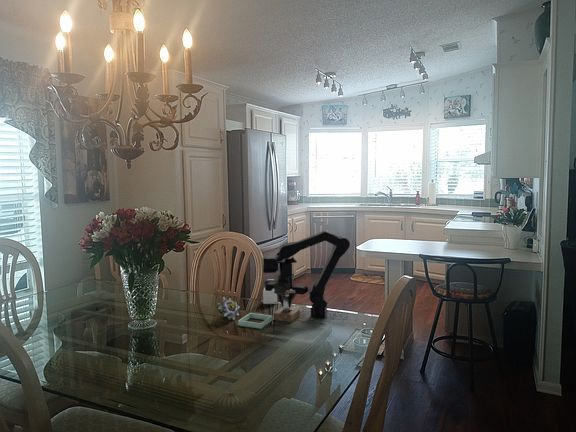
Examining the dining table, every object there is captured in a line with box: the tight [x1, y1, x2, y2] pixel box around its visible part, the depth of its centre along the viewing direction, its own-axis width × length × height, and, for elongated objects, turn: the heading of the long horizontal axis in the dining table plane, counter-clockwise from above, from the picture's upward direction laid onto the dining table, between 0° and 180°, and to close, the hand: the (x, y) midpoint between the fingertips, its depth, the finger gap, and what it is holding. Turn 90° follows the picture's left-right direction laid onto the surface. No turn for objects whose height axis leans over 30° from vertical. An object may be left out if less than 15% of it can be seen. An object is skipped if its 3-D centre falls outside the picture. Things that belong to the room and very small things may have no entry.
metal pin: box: [283, 294, 291, 313], centre depth 198 cm, size 3×3×9 cm
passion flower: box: [215, 296, 241, 321], centre depth 202 cm, size 11×11×12 cm
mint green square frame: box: [237, 312, 273, 330], centre depth 193 cm, size 11×11×3 cm
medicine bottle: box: [262, 279, 279, 305], centre depth 222 cm, size 7×7×12 cm
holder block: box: [272, 306, 301, 323], centre depth 199 cm, size 9×9×4 cm
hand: (286, 306), depth 198 cm, fingers closed on metal pin, 3 cm apart
